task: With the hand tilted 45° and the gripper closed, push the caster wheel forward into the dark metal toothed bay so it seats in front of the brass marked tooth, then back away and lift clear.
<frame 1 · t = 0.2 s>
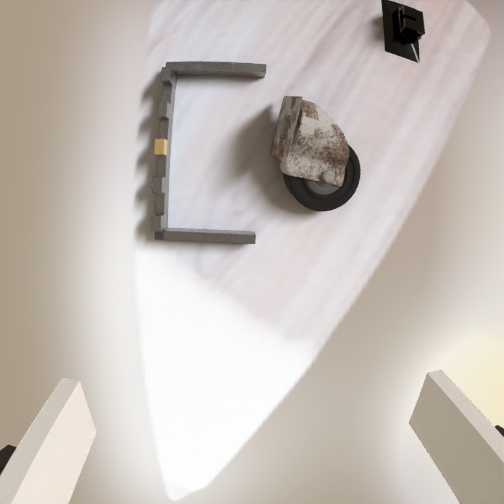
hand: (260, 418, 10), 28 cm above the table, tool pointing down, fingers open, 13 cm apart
caster wheel: (313, 157, 36), on the table
black mounting bracket: (398, 31, 33), on the table
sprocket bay: (210, 150, 35), on the table
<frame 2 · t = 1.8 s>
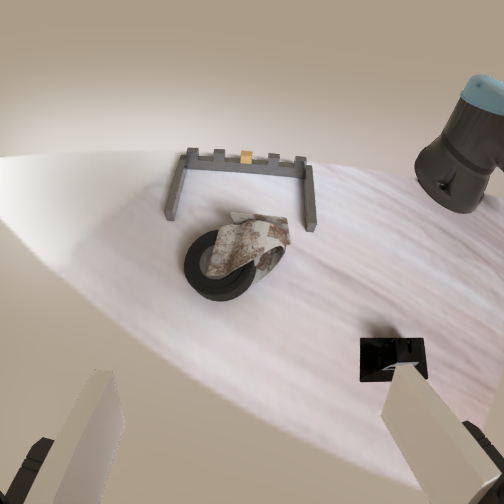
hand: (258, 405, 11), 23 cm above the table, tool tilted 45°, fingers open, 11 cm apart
caster wheel: (235, 272, 41), on the table
black mounting bracket: (391, 360, 36), on the table
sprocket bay: (243, 194, 47), on the table
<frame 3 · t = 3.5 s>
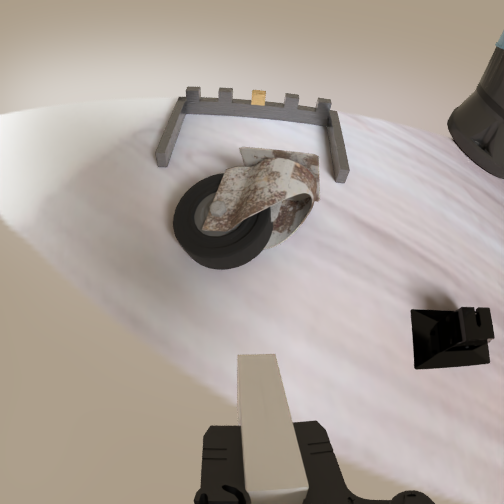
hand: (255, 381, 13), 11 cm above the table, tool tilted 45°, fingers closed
caster wheel: (243, 233, 30), on the table
black mounting bracket: (449, 340, 26), on the table
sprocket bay: (254, 139, 36), on the table
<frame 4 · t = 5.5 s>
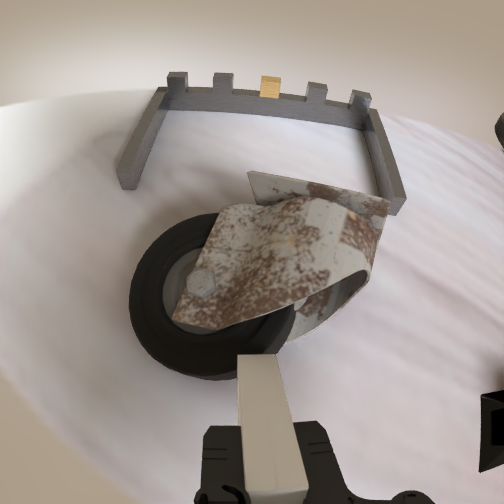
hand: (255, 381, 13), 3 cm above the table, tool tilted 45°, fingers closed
caster wheel: (245, 310, 18), on the table, touching gripper
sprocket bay: (264, 147, 25), on the table
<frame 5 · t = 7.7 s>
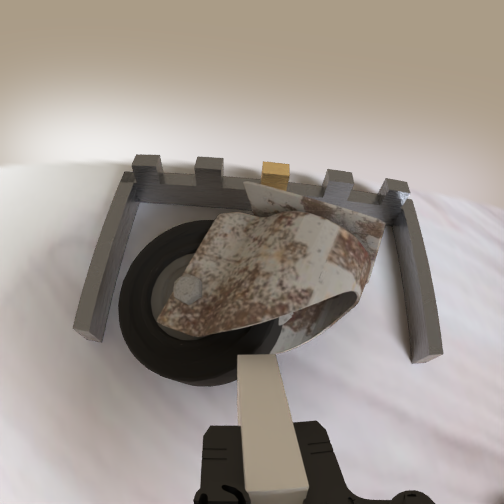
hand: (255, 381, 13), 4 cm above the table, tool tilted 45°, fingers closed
caster wheel: (235, 319, 18), on the table, touching gripper
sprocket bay: (266, 271, 19), on the table
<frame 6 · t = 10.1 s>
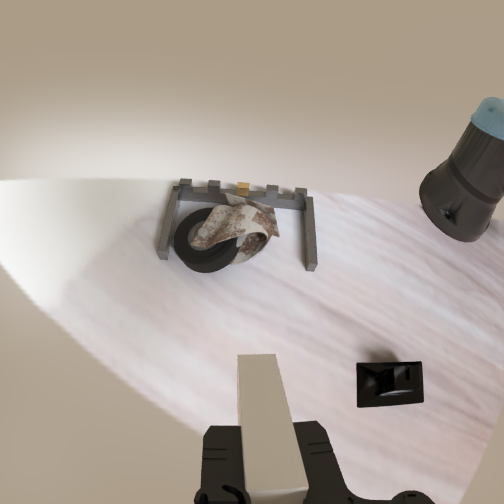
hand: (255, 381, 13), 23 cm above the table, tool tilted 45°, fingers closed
caster wheel: (221, 250, 43), on the table
black mounting bracket: (389, 384, 35), on the table
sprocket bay: (239, 230, 44), on the table
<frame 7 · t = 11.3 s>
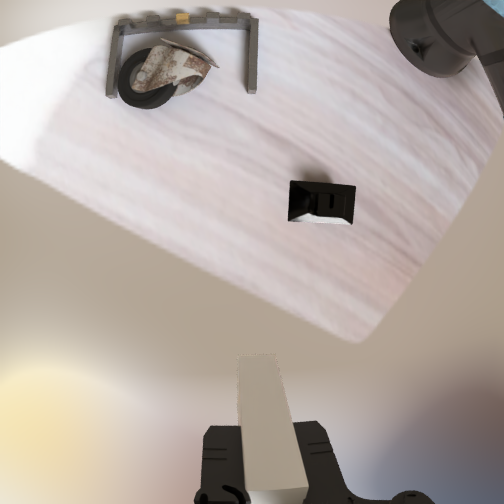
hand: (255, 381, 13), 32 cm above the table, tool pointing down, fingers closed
caster wheel: (164, 82, 39), on the table
black mounting bracket: (321, 202, 45), on the table
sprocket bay: (182, 57, 38), on the table
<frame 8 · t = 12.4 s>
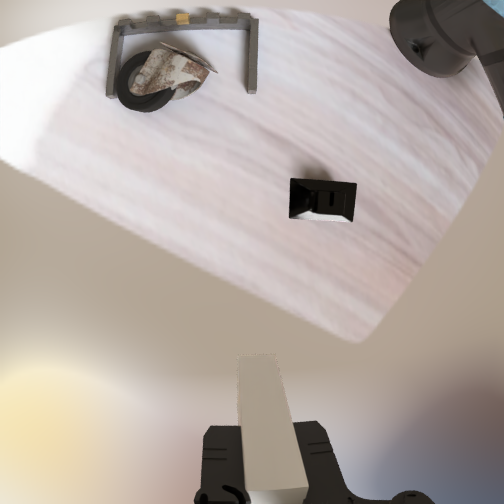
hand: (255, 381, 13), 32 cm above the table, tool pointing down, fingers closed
caster wheel: (163, 86, 39), on the table
black mounting bracket: (321, 200, 45), on the table
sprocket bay: (182, 57, 38), on the table
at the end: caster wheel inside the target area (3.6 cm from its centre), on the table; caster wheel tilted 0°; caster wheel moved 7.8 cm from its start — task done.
